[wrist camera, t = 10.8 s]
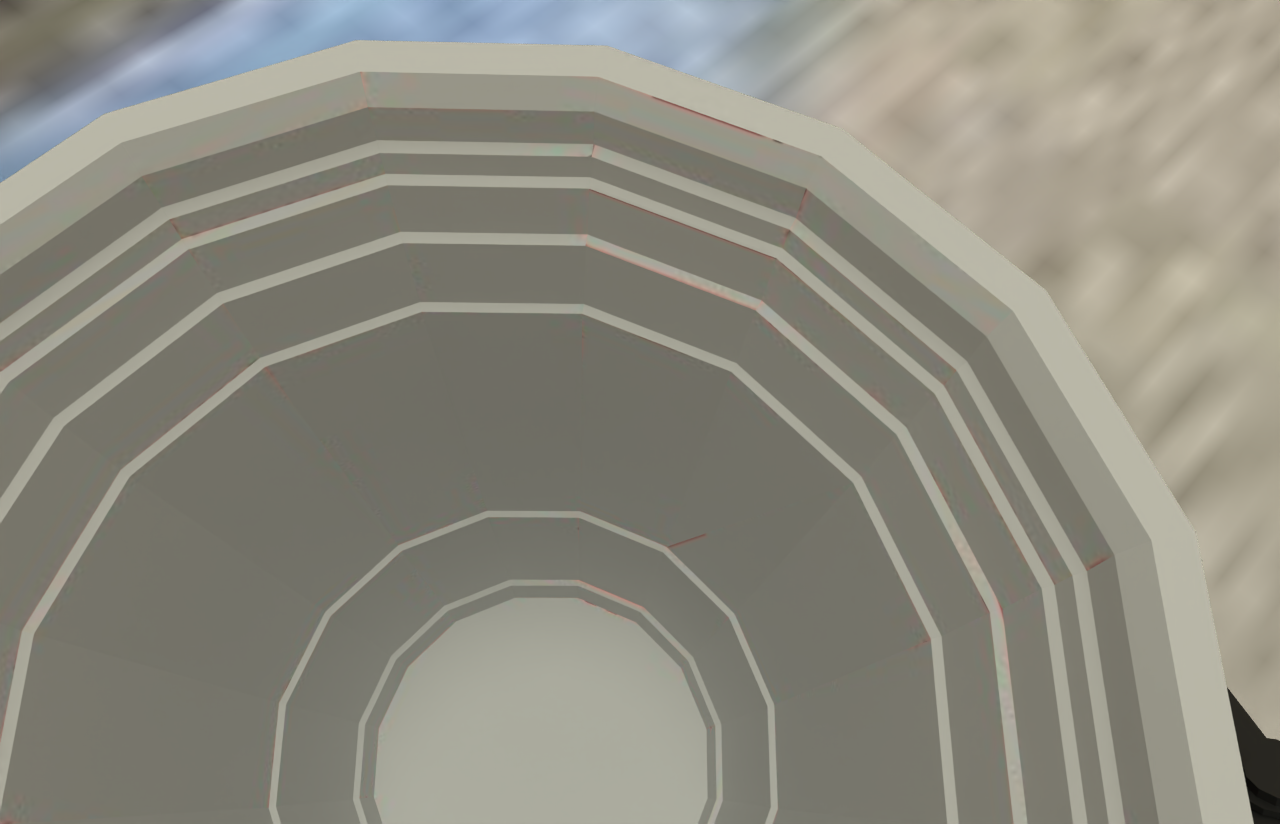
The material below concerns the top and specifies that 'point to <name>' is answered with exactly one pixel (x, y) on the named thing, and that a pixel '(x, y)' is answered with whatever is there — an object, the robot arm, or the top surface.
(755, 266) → the plastic cup
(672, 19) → the top surface
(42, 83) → the top surface
